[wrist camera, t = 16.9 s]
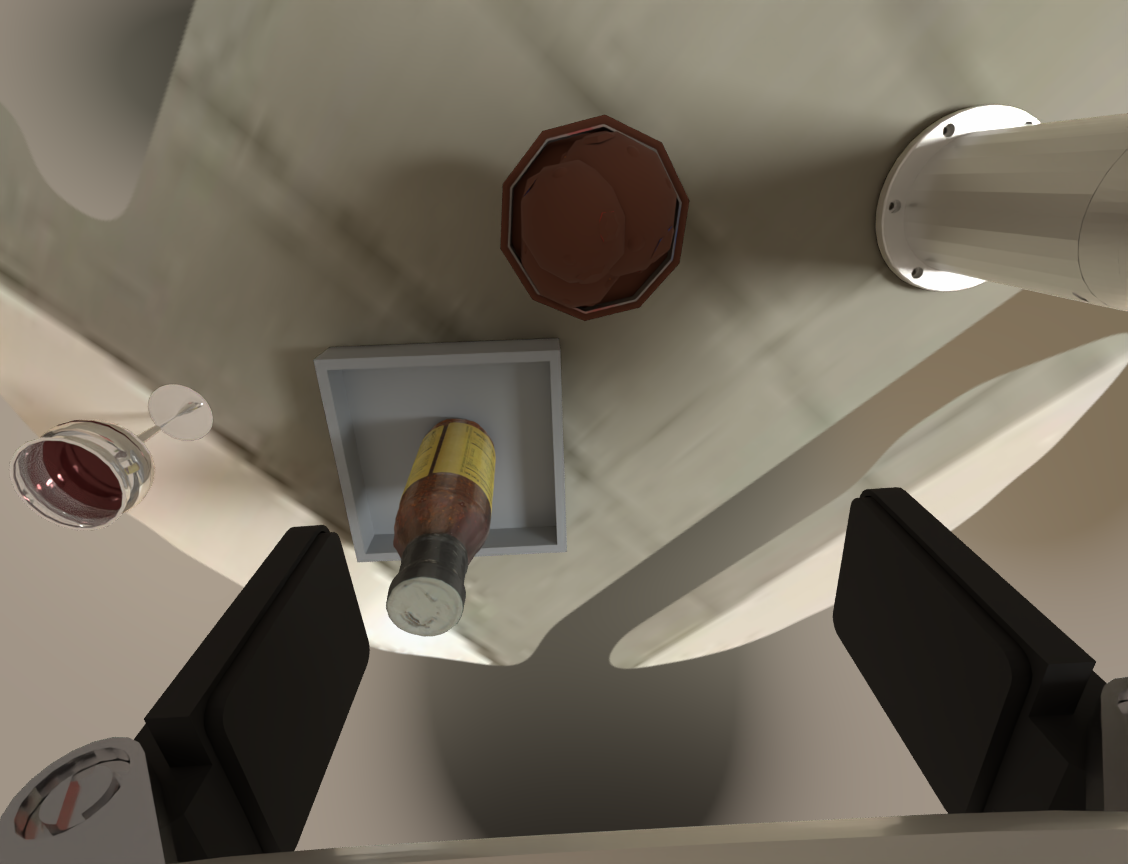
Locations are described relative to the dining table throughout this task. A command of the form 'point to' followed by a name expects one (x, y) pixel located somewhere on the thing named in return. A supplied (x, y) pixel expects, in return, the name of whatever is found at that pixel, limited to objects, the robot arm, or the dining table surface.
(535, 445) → the parts tray
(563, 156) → the ice cream bowl
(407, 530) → the sauce bottle
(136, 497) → the wineglass
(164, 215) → the dining table surface
